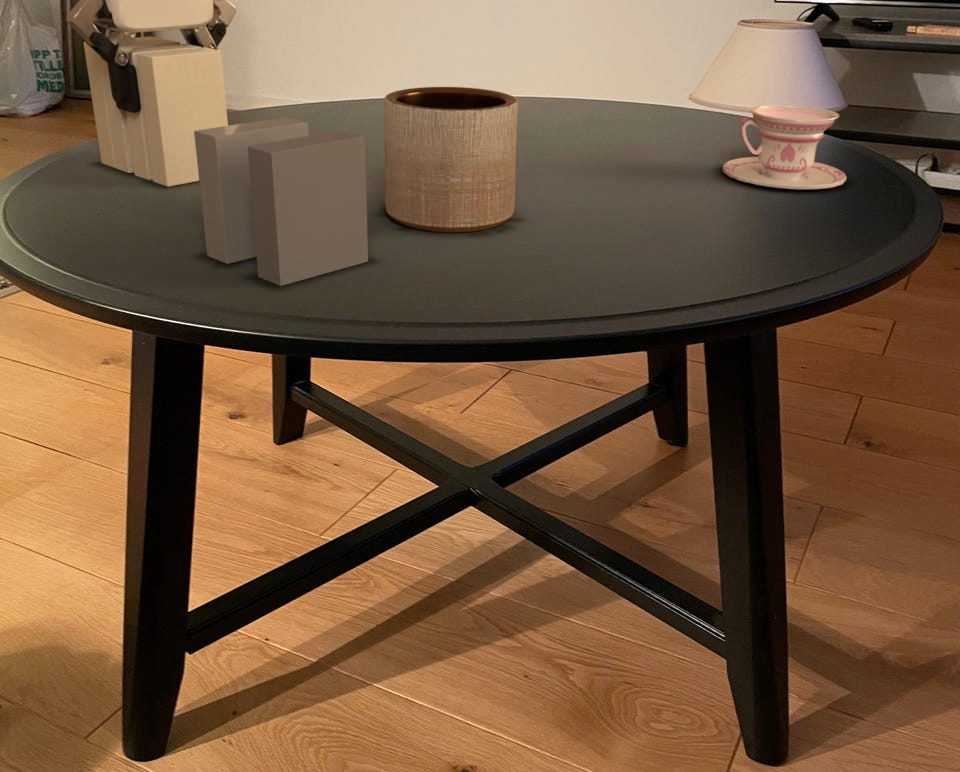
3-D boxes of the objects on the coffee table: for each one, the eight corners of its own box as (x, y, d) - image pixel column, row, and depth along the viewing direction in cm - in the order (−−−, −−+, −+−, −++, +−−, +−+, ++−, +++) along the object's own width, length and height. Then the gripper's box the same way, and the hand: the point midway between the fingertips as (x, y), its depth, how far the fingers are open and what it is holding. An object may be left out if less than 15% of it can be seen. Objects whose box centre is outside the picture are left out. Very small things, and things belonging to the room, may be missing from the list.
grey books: (280, 286, 71) (271, 152, 66) (206, 256, 76) (193, 130, 71) (368, 261, 76) (365, 136, 71) (293, 235, 81) (286, 116, 77)
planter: (517, 236, 82) (522, 112, 77) (380, 233, 82) (378, 108, 77) (511, 200, 92) (515, 87, 87) (389, 197, 91) (387, 84, 87)
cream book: (148, 180, 94) (132, 53, 89) (134, 175, 96) (117, 49, 91) (213, 168, 99) (201, 46, 94) (199, 163, 100) (186, 43, 95)
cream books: (167, 187, 92) (151, 57, 87) (101, 163, 99) (82, 41, 94) (232, 174, 97) (221, 50, 92) (165, 153, 104) (151, 36, 98)
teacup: (827, 164, 107) (839, 103, 104) (861, 194, 97) (875, 126, 94) (712, 160, 107) (720, 99, 104) (733, 190, 97) (743, 122, 94)
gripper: (204, -116, 94) (223, 89, 102) (18, -120, 82) (57, 110, 91) (253, -114, 89) (268, 100, 98) (63, -118, 78) (100, 124, 87)
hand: (166, 103), depth 94 cm, fingers closed on cream book, 7 cm apart
